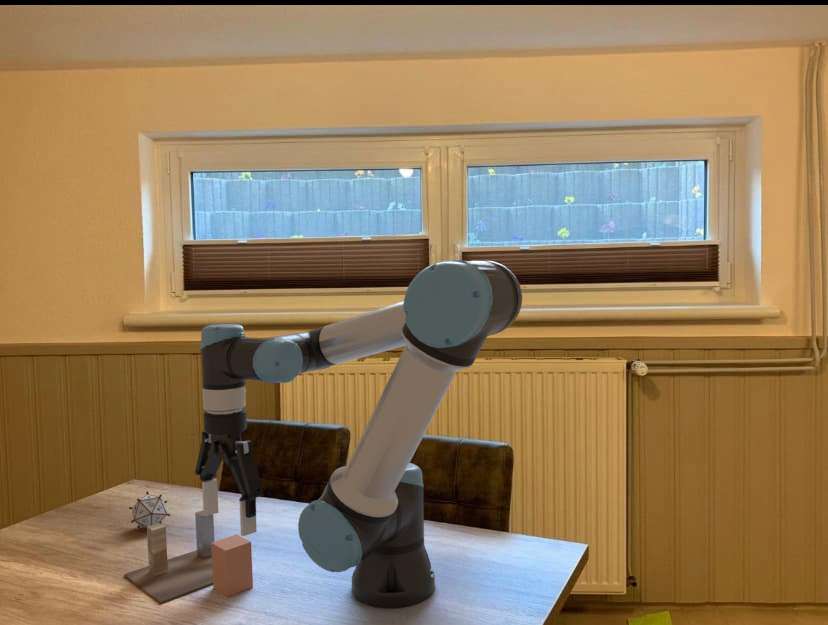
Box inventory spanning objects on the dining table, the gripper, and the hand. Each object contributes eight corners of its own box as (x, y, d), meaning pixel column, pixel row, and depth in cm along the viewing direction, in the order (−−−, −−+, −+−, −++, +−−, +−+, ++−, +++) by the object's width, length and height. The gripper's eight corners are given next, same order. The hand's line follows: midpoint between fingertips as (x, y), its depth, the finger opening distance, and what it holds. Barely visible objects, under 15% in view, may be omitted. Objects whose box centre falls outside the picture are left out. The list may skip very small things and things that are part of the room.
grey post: (215, 555, 138) (213, 512, 138) (203, 559, 137) (201, 515, 136) (209, 551, 140) (206, 509, 140) (197, 555, 138) (195, 512, 138)
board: (250, 570, 132) (250, 568, 132) (160, 604, 119) (160, 601, 119) (210, 547, 143) (210, 545, 143) (124, 576, 131) (124, 574, 131)
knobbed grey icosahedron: (160, 542, 156) (184, 508, 155) (129, 542, 149) (154, 506, 148) (145, 515, 161) (168, 482, 160) (114, 514, 154) (138, 479, 153)
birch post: (167, 571, 131) (165, 526, 131) (154, 576, 130) (152, 530, 129) (162, 567, 133) (159, 522, 133) (149, 571, 131) (146, 526, 131)
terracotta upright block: (253, 587, 125) (251, 541, 124) (227, 597, 121) (225, 550, 121) (238, 578, 129) (236, 534, 128) (213, 587, 125) (211, 542, 124)
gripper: (281, 416, 116) (284, 536, 118) (210, 397, 134) (214, 501, 136) (242, 424, 111) (246, 549, 113) (174, 403, 129) (178, 511, 131)
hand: (229, 523), depth 124 cm, fingers open, 13 cm apart
